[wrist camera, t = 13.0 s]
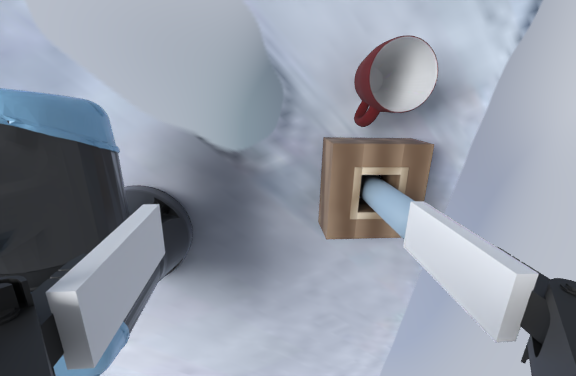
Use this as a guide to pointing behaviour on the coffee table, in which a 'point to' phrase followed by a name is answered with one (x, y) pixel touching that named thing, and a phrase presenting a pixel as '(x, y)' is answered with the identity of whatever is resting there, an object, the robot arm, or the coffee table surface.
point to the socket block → (347, 180)
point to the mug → (395, 78)
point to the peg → (386, 202)
